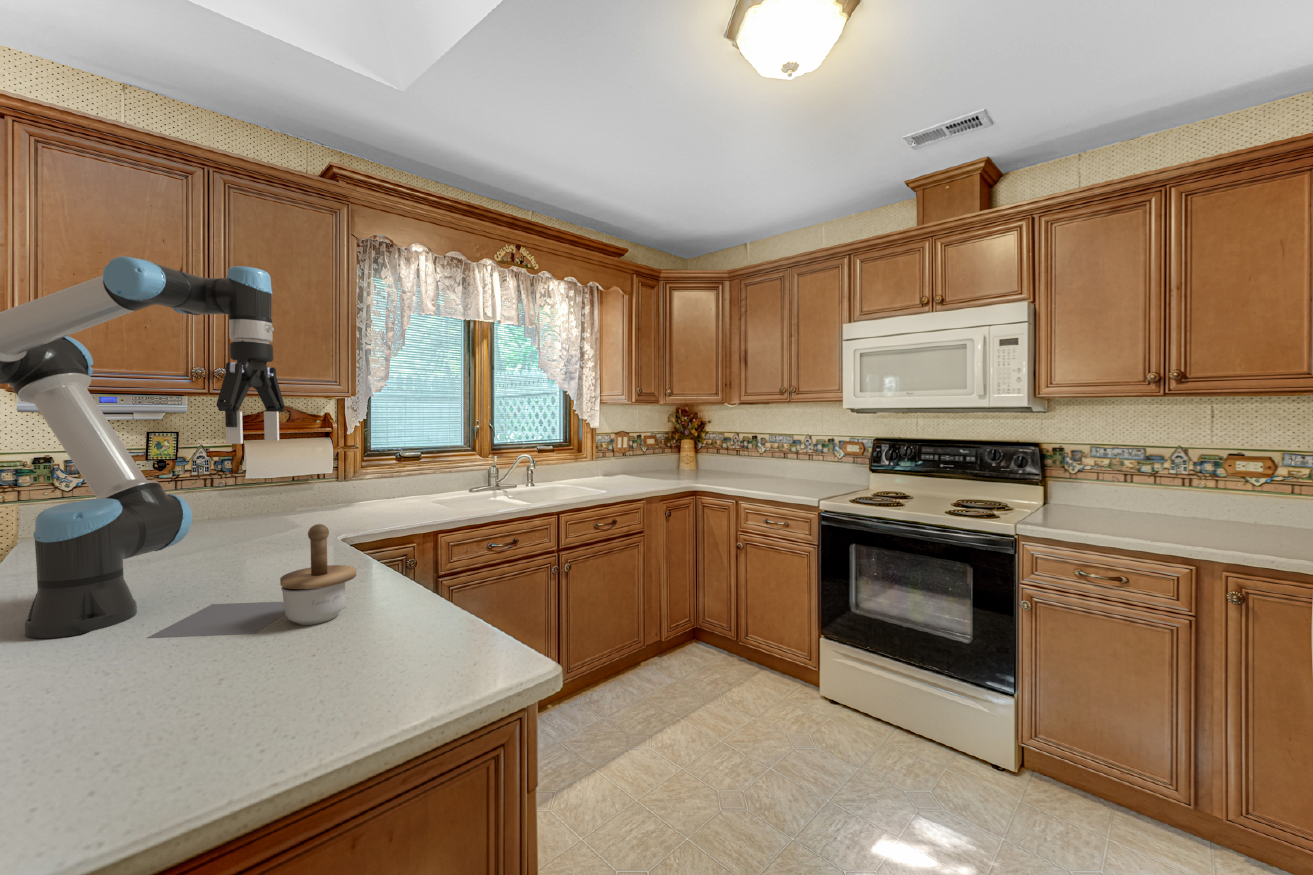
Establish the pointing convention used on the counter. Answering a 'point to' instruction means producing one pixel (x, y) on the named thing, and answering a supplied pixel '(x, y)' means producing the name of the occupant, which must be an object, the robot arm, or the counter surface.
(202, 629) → the mat
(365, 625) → the counter surface
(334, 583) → the lid
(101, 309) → the robot arm
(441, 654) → the counter surface
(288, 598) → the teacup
